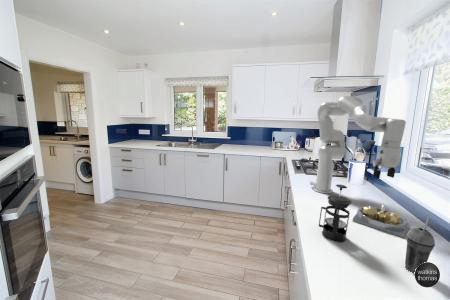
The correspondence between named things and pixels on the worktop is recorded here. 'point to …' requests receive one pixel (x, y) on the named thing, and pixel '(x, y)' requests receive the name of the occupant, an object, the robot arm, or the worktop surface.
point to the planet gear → (392, 218)
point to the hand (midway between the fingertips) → (383, 177)
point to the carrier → (379, 220)
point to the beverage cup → (418, 247)
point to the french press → (336, 218)
